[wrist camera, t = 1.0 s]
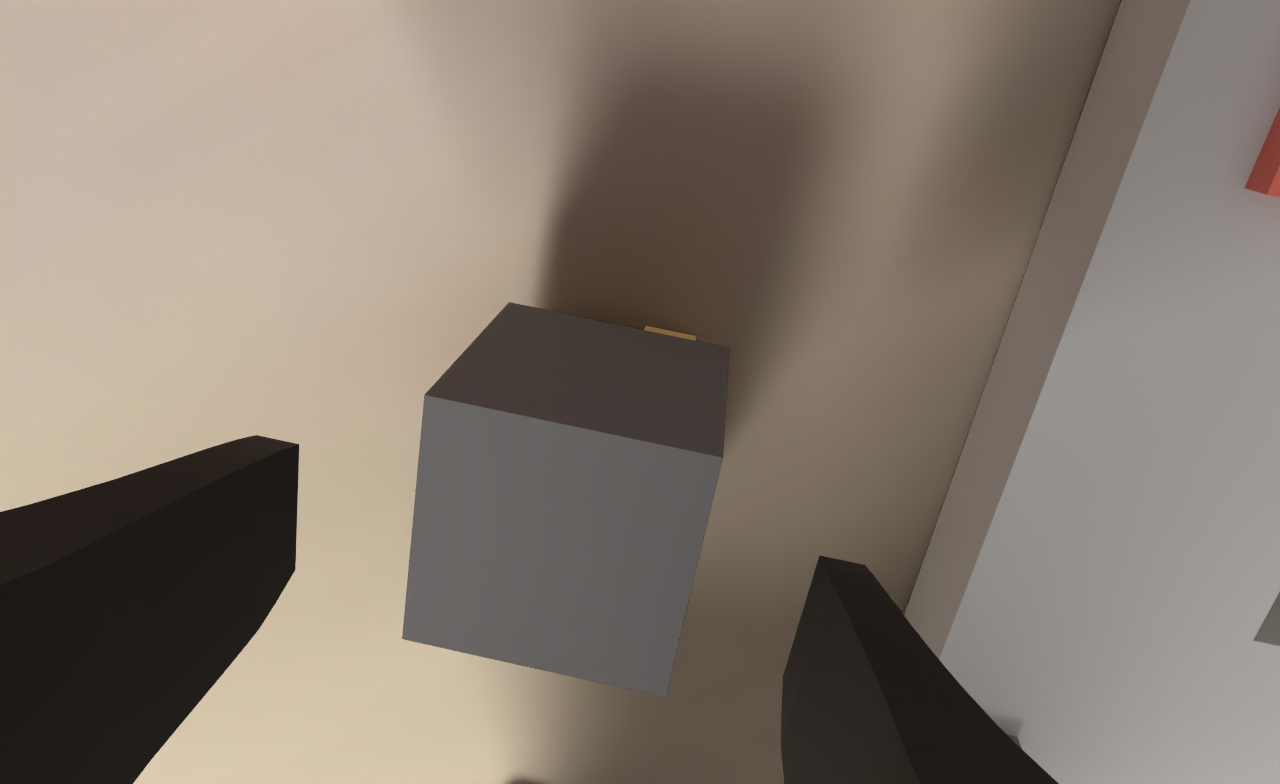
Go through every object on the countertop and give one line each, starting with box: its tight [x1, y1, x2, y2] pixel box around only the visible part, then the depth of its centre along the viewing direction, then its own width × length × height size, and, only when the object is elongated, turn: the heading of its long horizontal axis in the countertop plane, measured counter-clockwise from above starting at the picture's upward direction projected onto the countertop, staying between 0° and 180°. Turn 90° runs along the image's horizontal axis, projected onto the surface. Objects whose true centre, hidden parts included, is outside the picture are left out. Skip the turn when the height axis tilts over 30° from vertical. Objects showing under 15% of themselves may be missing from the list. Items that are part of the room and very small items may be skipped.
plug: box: [402, 302, 729, 697], centre depth 15 cm, size 4×4×6 cm
